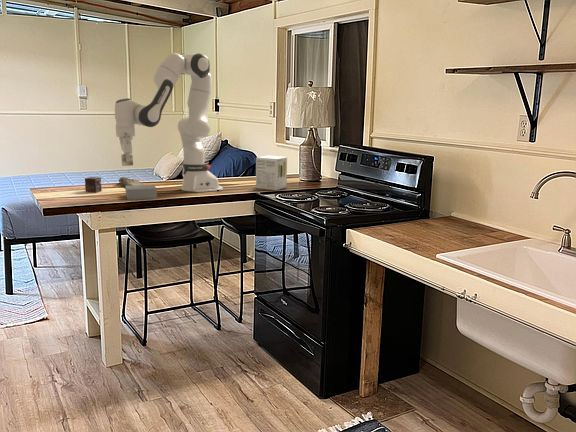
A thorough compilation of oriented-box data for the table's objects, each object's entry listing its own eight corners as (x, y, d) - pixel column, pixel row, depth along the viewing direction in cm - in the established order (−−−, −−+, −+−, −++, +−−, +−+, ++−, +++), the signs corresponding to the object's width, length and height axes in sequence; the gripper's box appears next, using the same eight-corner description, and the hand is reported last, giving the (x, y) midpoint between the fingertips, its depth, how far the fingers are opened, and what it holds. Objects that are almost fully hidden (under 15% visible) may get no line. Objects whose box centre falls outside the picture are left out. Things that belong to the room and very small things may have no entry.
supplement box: (276, 190, 308) (276, 158, 305) (255, 188, 314) (255, 157, 311) (287, 187, 320) (287, 156, 316) (266, 185, 326) (267, 155, 322)
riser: (153, 194, 289) (153, 184, 288) (157, 198, 278) (156, 188, 277) (125, 195, 284) (125, 185, 283) (127, 199, 273) (127, 189, 272)
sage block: (132, 164, 279) (131, 154, 278) (133, 165, 274) (132, 155, 273) (121, 164, 277) (121, 154, 276) (122, 165, 273) (121, 155, 272)
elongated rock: (134, 195, 294) (153, 195, 299) (135, 185, 293) (153, 185, 298) (114, 182, 322) (131, 182, 327) (114, 173, 321) (132, 173, 326)
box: (95, 193, 290) (95, 178, 289) (85, 192, 291) (84, 178, 290) (101, 191, 296) (101, 177, 294) (91, 190, 297) (90, 176, 296)
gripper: (134, 134, 264) (136, 163, 267) (130, 131, 283) (132, 158, 286) (120, 134, 262) (122, 164, 265) (117, 131, 281) (119, 158, 284)
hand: (127, 161), depth 275 cm, fingers closed on sage block, 5 cm apart
